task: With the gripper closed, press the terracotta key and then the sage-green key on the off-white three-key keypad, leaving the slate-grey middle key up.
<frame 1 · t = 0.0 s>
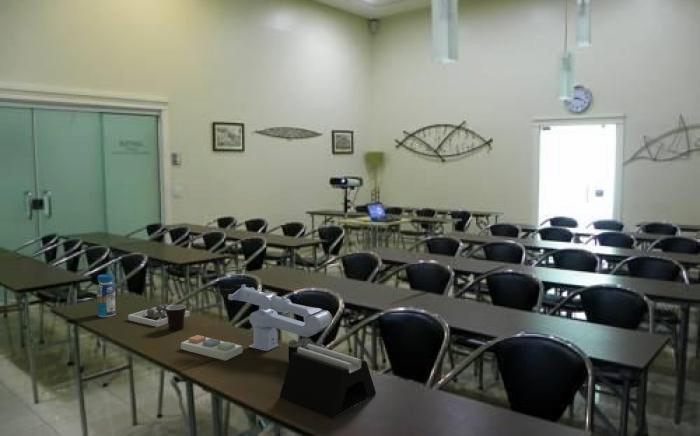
hand: (227, 289, 235), 22 cm above the table, tool horizontal, fingers open, 7 cm apart
coffee mug: (177, 328, 252), on the table
display tray: (159, 318, 266), on the table
molecule model: (158, 318, 267), on the table
device stand: (328, 397, 181), on the table
keypad: (211, 350, 222), on the table
terracotta key: (197, 339, 226), point 3 cm above the table, slide at 0.0 cm
camera: (307, 364, 209), on the table
slate key: (211, 343, 222), point 3 cm above the table, slide at 0.0 cm
sage key: (226, 346, 218), point 3 cm above the table, slide at 0.0 cm
beverage bottle: (106, 315, 271), on the table
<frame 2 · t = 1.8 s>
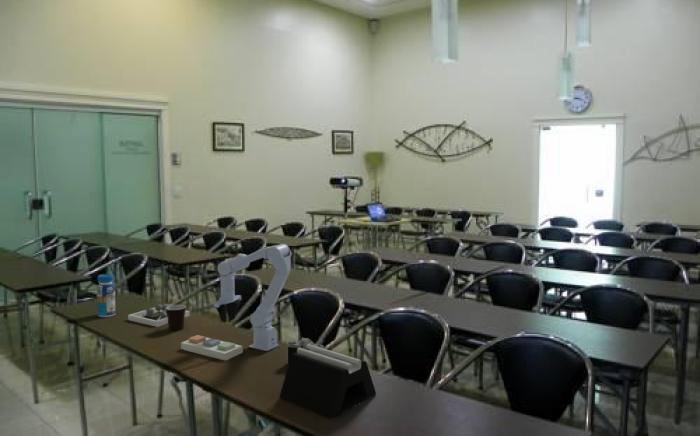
hand: (228, 320, 232), 9 cm above the table, tool pointing down, fingers open, 5 cm apart
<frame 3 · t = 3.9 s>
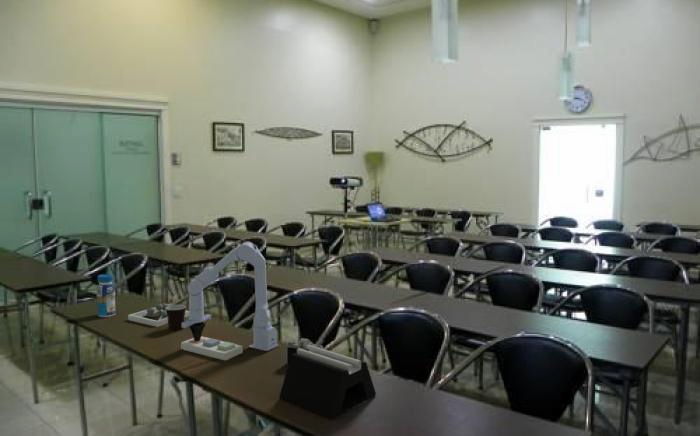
hand: (197, 340, 226), 3 cm above the table, tool pointing down, fingers closed, pressing on terracotta key
terracotta key: (197, 342, 226), point 2 cm above the table, slide at 1.2 cm, touching gripper
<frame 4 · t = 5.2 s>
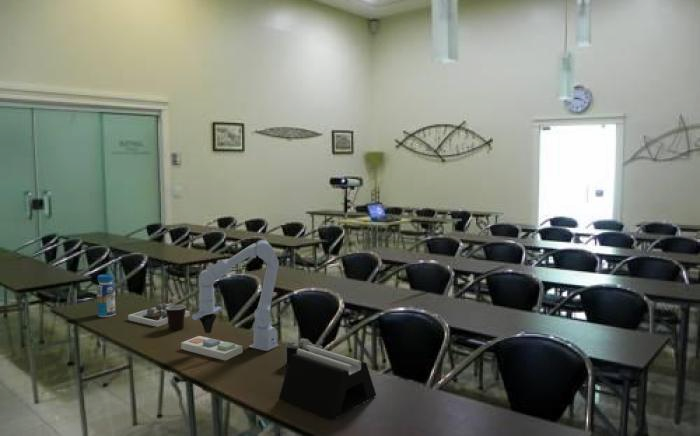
hand: (207, 332, 223), 7 cm above the table, tool pointing down, fingers closed
terracotta key: (197, 342, 226), point 2 cm above the table, slide at 1.2 cm
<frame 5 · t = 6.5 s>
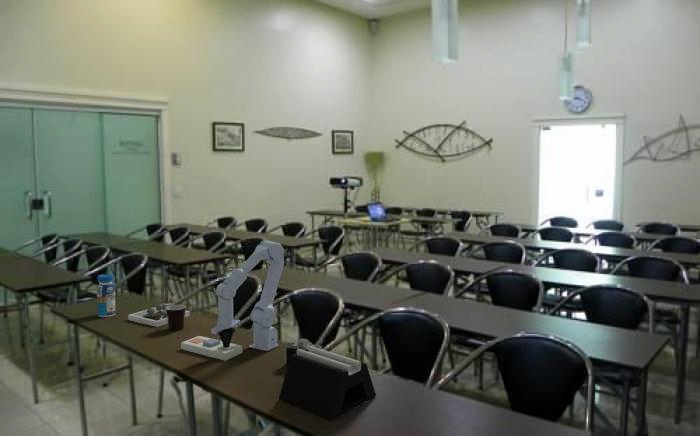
hand: (226, 346, 218), 3 cm above the table, tool pointing down, fingers closed, pressing on sage key
sage key: (226, 349, 218), point 2 cm above the table, slide at 1.0 cm, touching gripper
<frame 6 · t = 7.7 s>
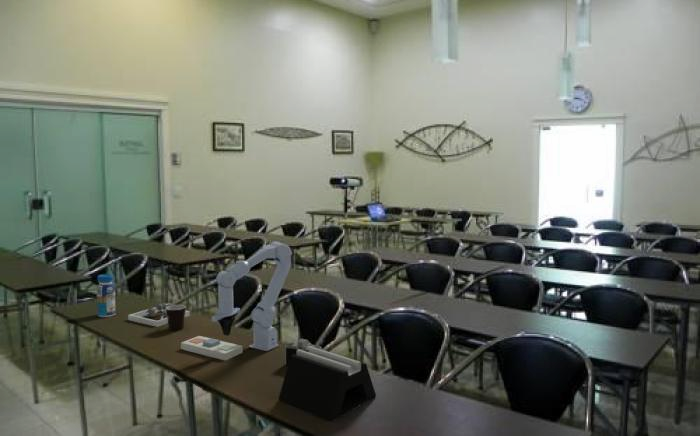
hand: (226, 334, 219), 8 cm above the table, tool pointing down, fingers closed
sage key: (226, 349, 218), point 2 cm above the table, slide at 1.2 cm
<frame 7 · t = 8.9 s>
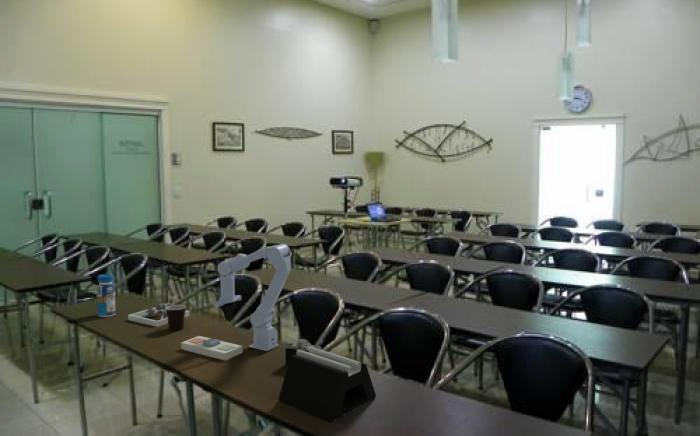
hand: (228, 320, 232), 9 cm above the table, tool pointing down, fingers closed
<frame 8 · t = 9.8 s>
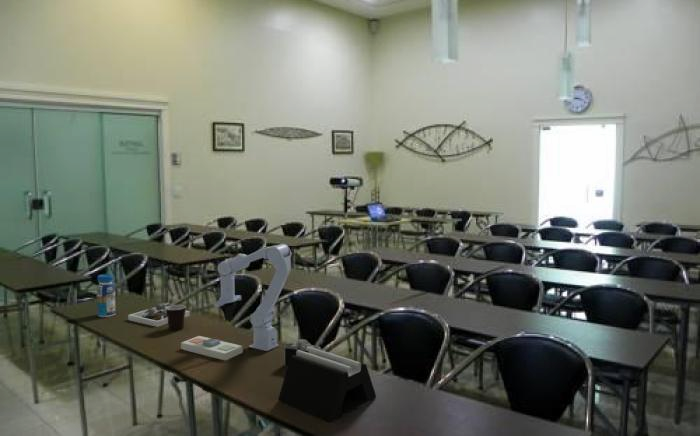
hand: (228, 320, 232), 9 cm above the table, tool pointing down, fingers closed
at the end: terracotta key slide at 1.2 cm; sage key slide at 1.2 cm; slate key slide at 0.0 cm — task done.
